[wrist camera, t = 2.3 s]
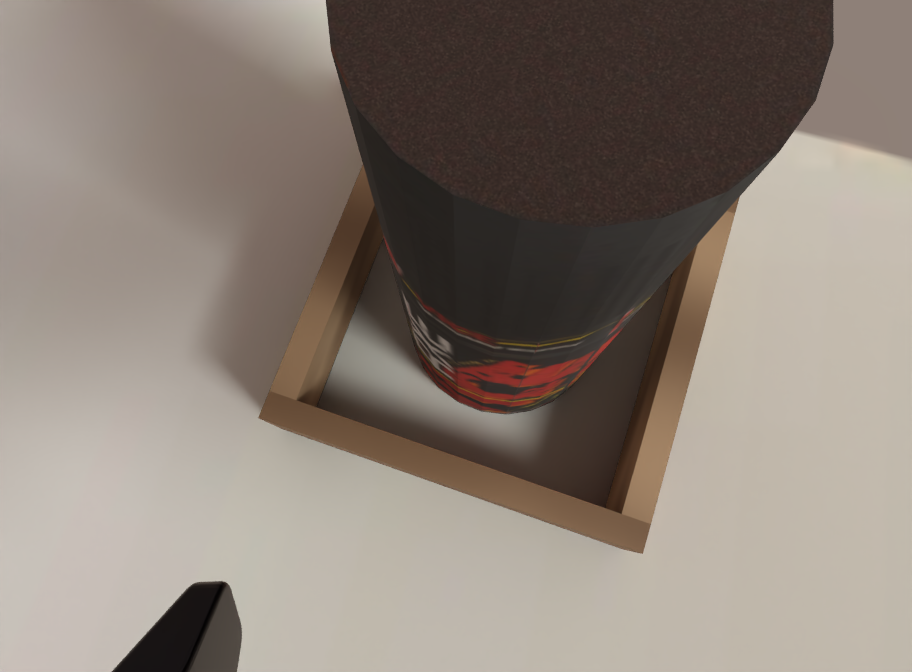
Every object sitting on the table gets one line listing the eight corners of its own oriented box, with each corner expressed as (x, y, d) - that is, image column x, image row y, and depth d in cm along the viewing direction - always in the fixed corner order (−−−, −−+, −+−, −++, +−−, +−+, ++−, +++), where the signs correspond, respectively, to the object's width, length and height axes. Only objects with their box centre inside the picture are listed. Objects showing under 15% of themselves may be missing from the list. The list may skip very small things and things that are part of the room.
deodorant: (377, 356, 23) (225, 76, 8) (468, 205, 24) (480, -275, 9) (542, 448, 22) (703, 325, 7) (627, 288, 23) (910, -92, 9)
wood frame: (621, 548, 21) (643, 553, 19) (280, 428, 22) (258, 417, 20) (712, 222, 24) (741, 190, 21) (402, 127, 25) (395, 85, 22)
